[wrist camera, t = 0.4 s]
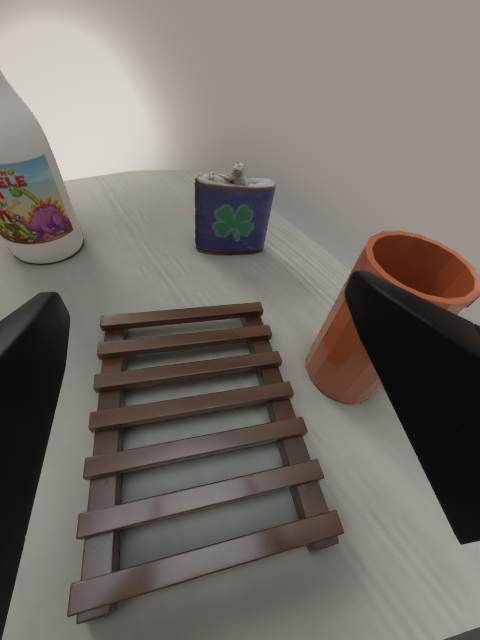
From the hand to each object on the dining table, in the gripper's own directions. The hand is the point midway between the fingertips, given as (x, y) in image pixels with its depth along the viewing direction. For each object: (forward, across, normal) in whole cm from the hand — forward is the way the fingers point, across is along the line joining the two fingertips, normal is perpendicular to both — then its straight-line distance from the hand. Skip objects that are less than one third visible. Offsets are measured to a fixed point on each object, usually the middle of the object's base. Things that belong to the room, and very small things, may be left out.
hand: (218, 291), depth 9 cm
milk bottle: (+27, +17, +14) cm, 35 cm away
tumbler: (+6, -13, +16) cm, 22 cm away
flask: (+26, -5, +15) cm, 30 cm away
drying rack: (+4, +1, +16) cm, 17 cm away
